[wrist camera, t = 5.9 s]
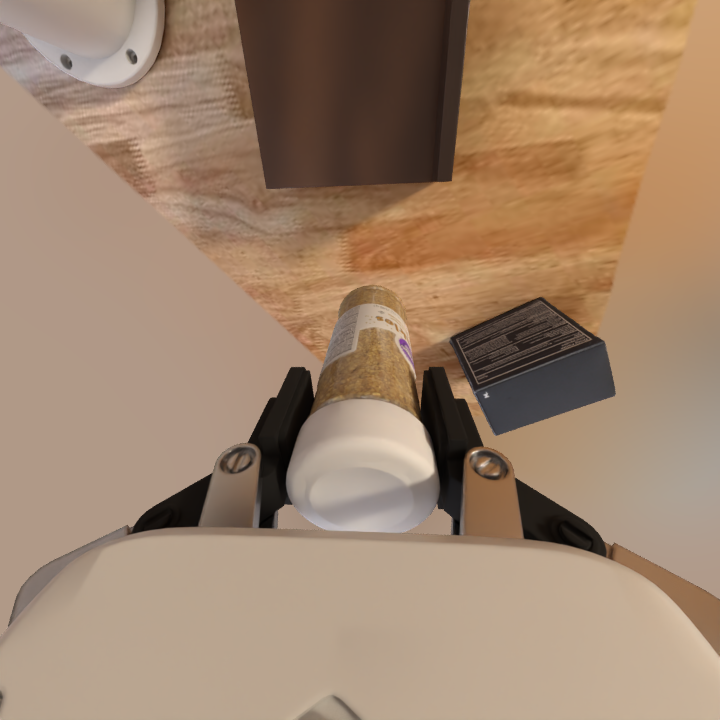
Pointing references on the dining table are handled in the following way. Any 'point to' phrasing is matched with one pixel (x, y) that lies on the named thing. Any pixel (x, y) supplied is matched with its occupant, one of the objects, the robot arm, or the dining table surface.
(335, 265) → the dining table surface
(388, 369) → the sprinkles bottle
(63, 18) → the robot arm
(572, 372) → the small box
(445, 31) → the shelf
